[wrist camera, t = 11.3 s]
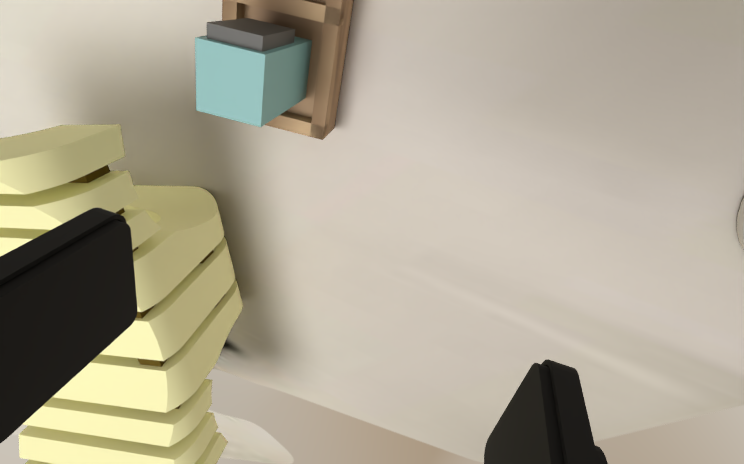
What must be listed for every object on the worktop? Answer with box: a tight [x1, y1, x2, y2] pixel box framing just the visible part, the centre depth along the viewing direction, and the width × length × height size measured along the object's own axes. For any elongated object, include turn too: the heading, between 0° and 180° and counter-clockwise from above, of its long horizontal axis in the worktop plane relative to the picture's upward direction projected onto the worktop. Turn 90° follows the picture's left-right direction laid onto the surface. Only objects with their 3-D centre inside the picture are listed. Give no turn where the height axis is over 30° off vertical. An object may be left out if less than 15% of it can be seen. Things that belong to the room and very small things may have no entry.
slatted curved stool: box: [0, 124, 243, 464], centre depth 36 cm, size 30×16×18 cm, turn 3°
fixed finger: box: [195, 18, 312, 127], centre depth 27 cm, size 4×5×8 cm
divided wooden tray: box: [222, 0, 354, 140], centre depth 29 cm, size 8×16×3 cm, turn 169°
